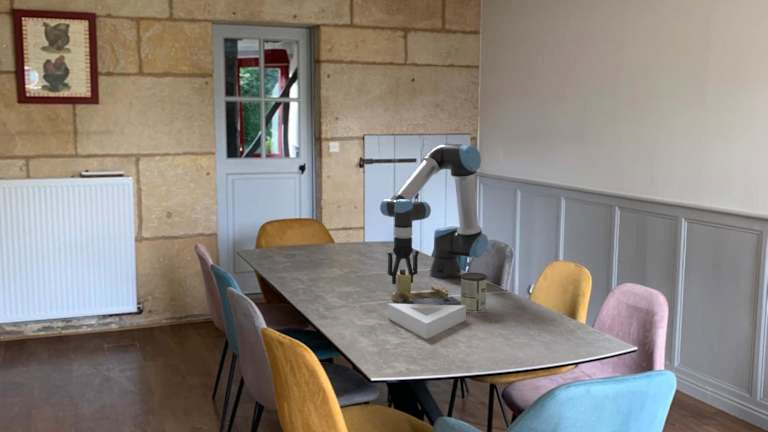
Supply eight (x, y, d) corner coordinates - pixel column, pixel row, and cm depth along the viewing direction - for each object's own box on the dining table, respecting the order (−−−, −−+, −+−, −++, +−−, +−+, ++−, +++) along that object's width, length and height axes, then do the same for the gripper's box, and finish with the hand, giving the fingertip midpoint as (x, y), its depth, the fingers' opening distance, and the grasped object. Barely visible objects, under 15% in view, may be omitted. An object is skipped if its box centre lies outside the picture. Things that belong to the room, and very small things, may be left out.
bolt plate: (452, 300, 330) (452, 295, 330) (461, 306, 321) (461, 301, 320) (395, 304, 323) (395, 299, 322) (403, 310, 313) (403, 305, 313)
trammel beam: (443, 295, 338) (443, 285, 338) (456, 303, 325) (456, 293, 324) (390, 298, 331) (390, 288, 331) (401, 307, 318) (401, 296, 317)
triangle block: (426, 340, 276) (426, 323, 275) (365, 328, 290) (365, 311, 289) (465, 321, 300) (465, 305, 299) (407, 311, 314) (408, 295, 314)
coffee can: (463, 305, 322) (464, 271, 320) (488, 307, 319) (489, 273, 317) (457, 311, 313) (458, 276, 311) (482, 313, 309) (483, 278, 307)
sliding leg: (405, 293, 334) (405, 267, 332) (417, 302, 319) (417, 275, 318) (394, 294, 332) (394, 268, 330) (405, 302, 318) (406, 276, 316)
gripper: (420, 234, 332) (419, 287, 336) (379, 236, 327) (379, 290, 330) (426, 237, 325) (425, 291, 328) (385, 239, 320) (384, 294, 323)
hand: (402, 291), depth 329 cm, fingers closed on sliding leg, 5 cm apart
